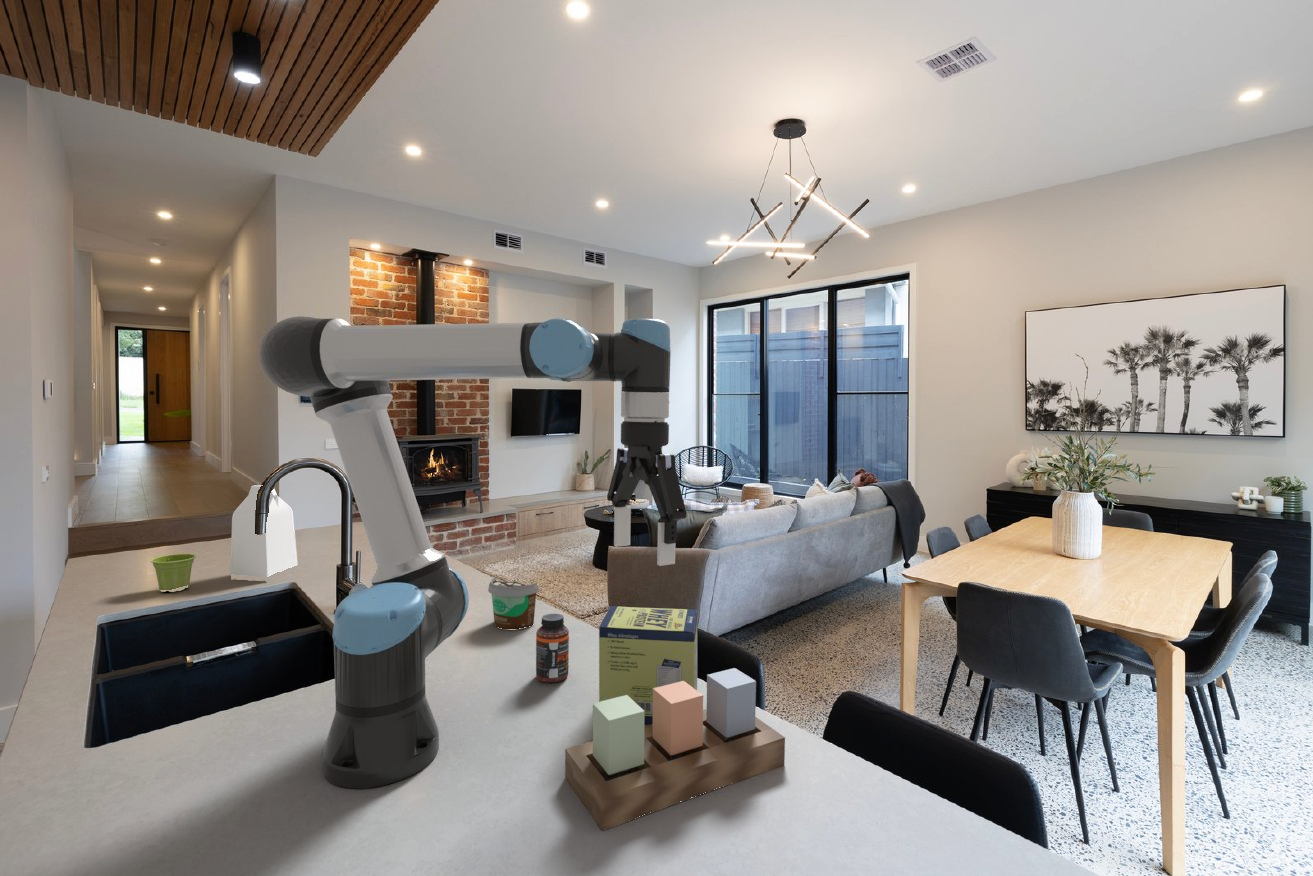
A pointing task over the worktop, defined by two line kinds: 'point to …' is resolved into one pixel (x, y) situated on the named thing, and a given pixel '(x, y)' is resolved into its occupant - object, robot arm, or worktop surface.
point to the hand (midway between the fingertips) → (642, 554)
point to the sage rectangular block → (618, 734)
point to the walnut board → (670, 772)
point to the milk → (262, 538)
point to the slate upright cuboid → (731, 702)
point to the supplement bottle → (552, 649)
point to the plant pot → (173, 570)
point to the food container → (513, 604)
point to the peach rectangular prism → (677, 717)
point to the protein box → (646, 653)
